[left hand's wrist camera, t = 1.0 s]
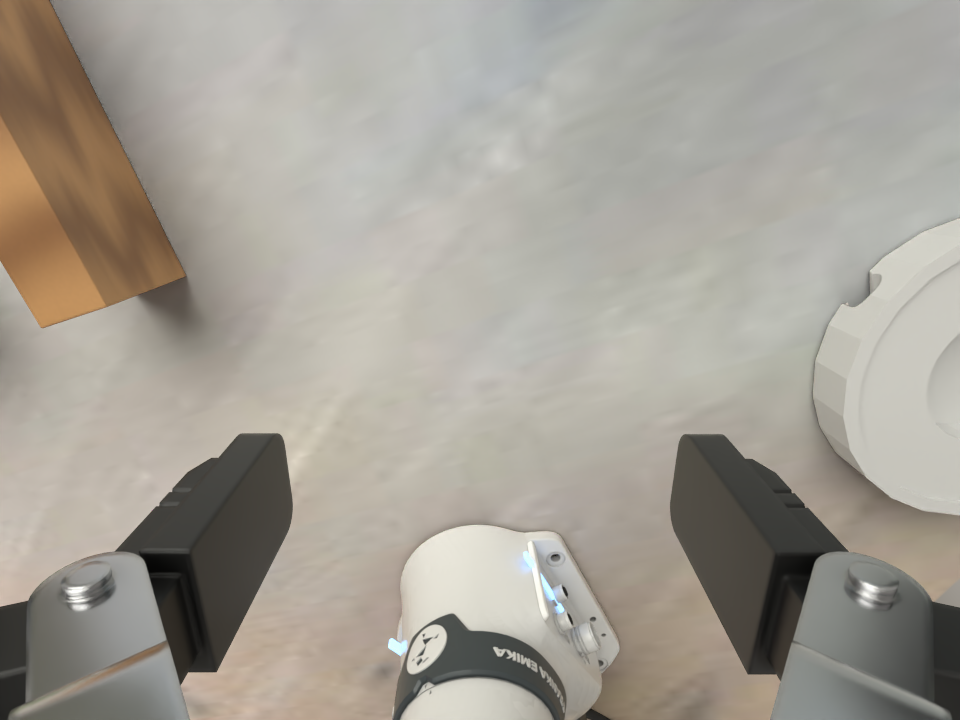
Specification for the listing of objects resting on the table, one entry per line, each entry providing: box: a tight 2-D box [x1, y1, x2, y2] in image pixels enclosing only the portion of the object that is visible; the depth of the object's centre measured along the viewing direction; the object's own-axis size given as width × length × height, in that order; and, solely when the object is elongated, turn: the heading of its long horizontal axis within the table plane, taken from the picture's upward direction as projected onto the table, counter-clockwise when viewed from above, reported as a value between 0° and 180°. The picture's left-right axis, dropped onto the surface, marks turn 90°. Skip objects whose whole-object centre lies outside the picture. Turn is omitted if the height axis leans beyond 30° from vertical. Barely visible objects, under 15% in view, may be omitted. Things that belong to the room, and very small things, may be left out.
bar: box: [0, 0, 186, 328], centre depth 33 cm, size 25×4×10 cm, turn 17°
